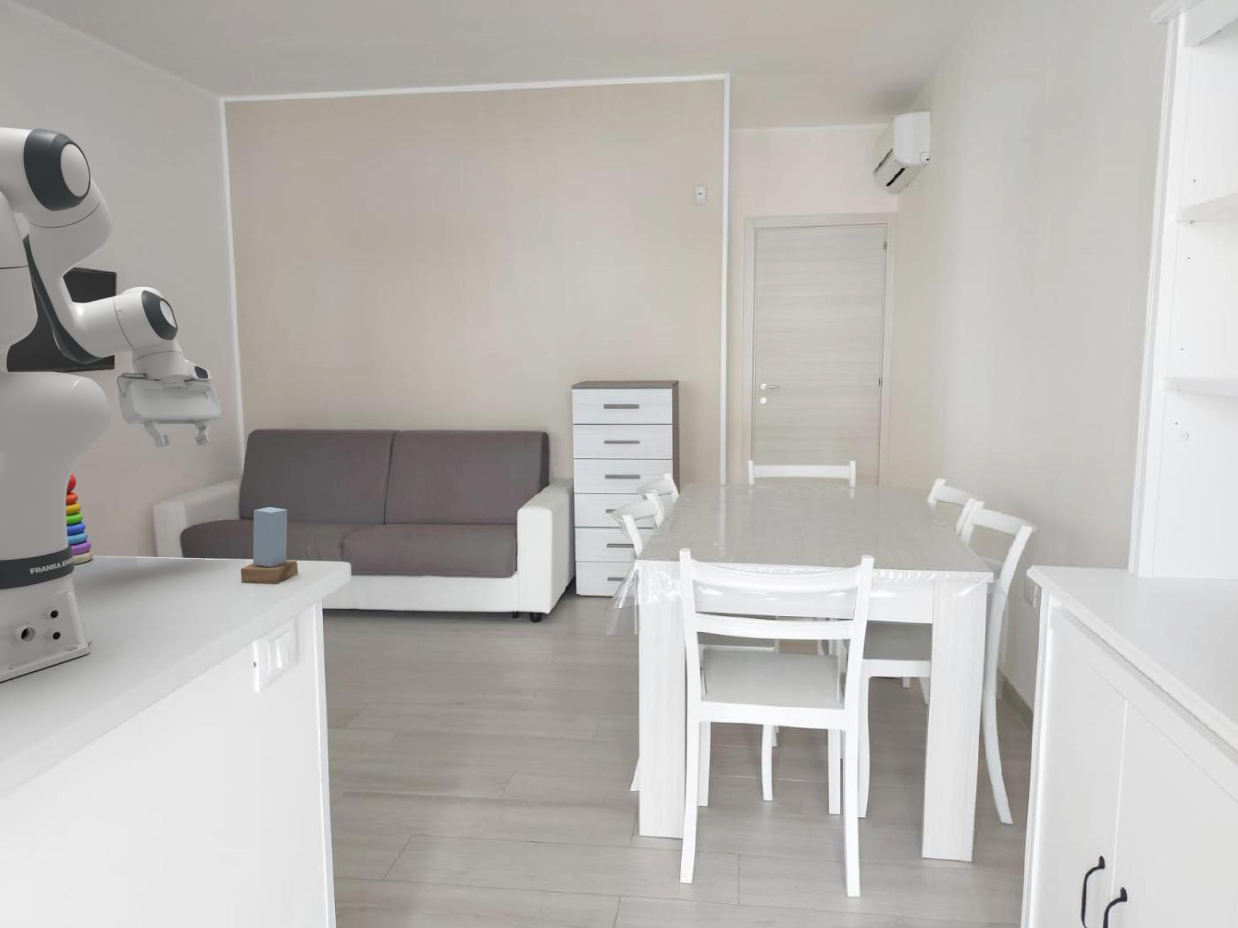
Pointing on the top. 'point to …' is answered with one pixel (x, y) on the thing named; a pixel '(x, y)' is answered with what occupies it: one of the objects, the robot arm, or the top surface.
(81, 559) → the stacking toy
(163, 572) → the top surface
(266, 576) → the base block
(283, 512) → the pillar
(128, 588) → the top surface
